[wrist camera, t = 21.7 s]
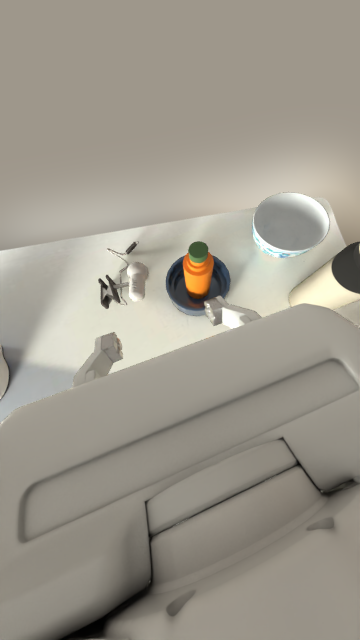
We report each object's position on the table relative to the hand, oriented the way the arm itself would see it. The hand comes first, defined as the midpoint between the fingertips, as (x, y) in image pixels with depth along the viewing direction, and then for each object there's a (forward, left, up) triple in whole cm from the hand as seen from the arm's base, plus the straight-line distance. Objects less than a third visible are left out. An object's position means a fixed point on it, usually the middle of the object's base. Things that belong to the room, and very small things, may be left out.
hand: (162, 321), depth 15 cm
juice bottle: (+1, +15, -24) cm, 28 cm away
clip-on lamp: (-18, +15, -25) cm, 34 cm away
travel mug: (+25, +16, -25) cm, 39 cm away
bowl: (0, +15, -25) cm, 29 cm away
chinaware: (+17, +30, -25) cm, 43 cm away
